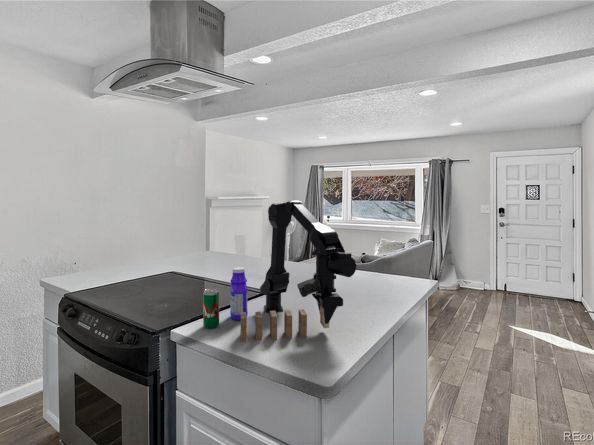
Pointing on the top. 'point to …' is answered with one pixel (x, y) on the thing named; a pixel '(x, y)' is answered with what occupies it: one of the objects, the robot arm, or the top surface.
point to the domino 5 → (302, 323)
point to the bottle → (238, 293)
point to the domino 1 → (243, 326)
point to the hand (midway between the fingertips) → (324, 320)
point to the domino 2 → (258, 325)
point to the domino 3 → (273, 324)
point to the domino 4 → (288, 323)
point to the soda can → (210, 308)
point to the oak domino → (323, 318)
